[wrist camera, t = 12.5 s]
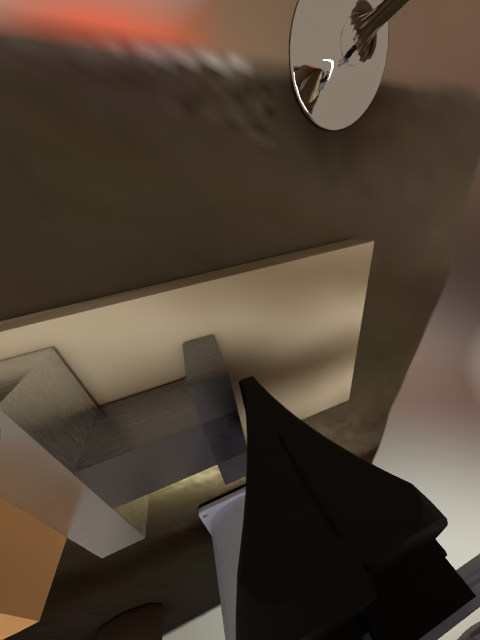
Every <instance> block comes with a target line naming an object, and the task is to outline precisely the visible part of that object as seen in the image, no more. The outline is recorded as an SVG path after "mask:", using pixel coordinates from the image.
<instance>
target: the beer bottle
mask: <svg viewBox="0 0 480 640" xmlns="http://www.w3.org/2000/svg"><path fill="white" fill-rule="evenodd" d="M97 640H162V607H161V604H145V605H142V606H140V607H137V608H134V609H132V610H129V611H126V612H124V613H121V614H119V615H118V616H116V617H115V618H114V619H112V620H111V621H109V622H108V623H106V624H105V625H103V626H102V627H101V628H100V631H99V633H98V638H97Z"/></svg>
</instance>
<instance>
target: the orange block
mask: <svg viewBox="0 0 480 640" xmlns="http://www.w3.org/2000/svg"><path fill="white" fill-rule="evenodd" d="M66 538H67V537H66V536H64V535H62V534H61V533H59V532H57V531H56V530H54V529H52V528H51V527H49V526H47V525H46V524H44V523H42V522H41V521H39V520H37V519H35V518H34V517H32V516H30V515H29V514H27V513H25V512H24V511H22V510H20V509H19V508H17V507H15V506H14V505H12V504H10V503H9V502H7V501H5V500H4V499H2V498H0V640H3V639H5V638H7V637H9V636H11V635H13V634H15V633H17V632H19V631H21V630H23V629H25V628H27V627H29V626H31V625H33V624H35V623H37V622H39V620H40V617H41V614H42V611H43V608H44V605H45V602H46V599H47V596H48V593H49V590H50V587H51V584H52V581H53V578H54V575H55V572H56V569H57V565H58V562H59V559H60V556H61V553H62V550H63V547H64V544H65V541H66Z"/></svg>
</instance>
